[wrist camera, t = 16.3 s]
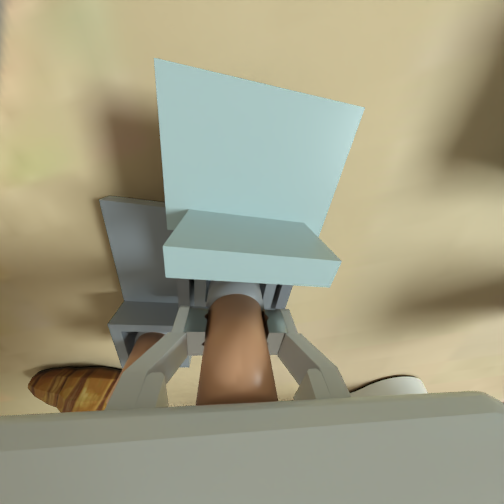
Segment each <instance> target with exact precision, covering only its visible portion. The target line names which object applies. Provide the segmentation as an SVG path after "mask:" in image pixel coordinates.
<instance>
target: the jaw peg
mask: <svg viewBox="0 0 504 504" xmlns="http://www.w3.org/2000/svg"><path fill="white" fill-rule="evenodd" d="M206 307H209V315H208V322H207V330H206V337H205V342H204V350H203V357H202V364H201V372H200V379H199V386H198V393H197V401H196V406H197V405H216V404H235V403H254V402H273V401H278V398H277V393H276V387H275V382H274V376H273V371H272V366H271V360H270V355H269V350H268V344H267V339H266V333H265V328H264V323H263V317H262V309H263V308H264V304H263V299H262V295H261V290H260V285H259V283H247V282H231V281H214V280H212V281H211V282H210V285H209V290H208V296H207V302H206Z"/></svg>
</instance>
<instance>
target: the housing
mask: <svg viewBox="0 0 504 504" xmlns="http://www.w3.org/2000/svg"><path fill="white" fill-rule="evenodd" d="M99 202H100V206H101V210H102V214H103V218H104V222H105V226H106V230H107V234H108V238H109V242H110V246H111V250H112V254H113V258H114V262H115V266H116V270H117V274H118V278H119V282H120V286H121V290H122V294H123V298H124V302H123V303H122V305H121V306H120V308H119V309H118V310H117V312H116V313H115V315H114V316H113V317H112V319H111V320H110V322H109V323H108V327H109V330H110V333H111V336H112V339H113V342H114V345H115V348H116V351H117V354H118V357H119V360H120V363H121V366H122V368H123V369H122V371H121V373H120V375H119V377H118V379H117V381H116V383H115V385H114V387H113V389H112V391H111V393H110V395H109V397H108V399H107V402H106V404H108V402H109V400H110V398H111V396H112V394H113V392H114V389H115V387H116V385H117V383H118V381H119V379H120V377H121V375H122V373H123V372H124V371H125V370H126V369H127V368H128V367H129V366H130V365H132V364H133V363H134V362H135V361H136V360H137V359H138V358H140V357H141V356H142V355H143V354H144V353H145V352H146V351H147V350H149V349H150V348H151V347H152V346H153V345H154V344H155V343H156V342H158V341H159V340H160V339H161V338H162V337H163V336H164V335H165V334H167V333H168V332H171V331H172V328H173V325H174V322H175V319H176V316H177V313H178V310H179V307H180V306H201V307H206V302H207V296H208V290H209V285H210V282H211V281H212V280H198V279H181V278H166V276H165V265H164V254H163V245H164V243H165V242H166V241H167V239H168V238H169V237H170V235H171V234H172V232H173V231H174V230H167V220H166V207H165V202H158V201H150V200H142V199H134V198H125V197H117V196H107V197H105V198H102V199H99ZM259 285H260V290H261V295H262V299H263V304H264V309H285V307H286V304H287V301H288V298H289V295H290V292H291V289H292V286H293V285H280V284H264V283H259ZM190 361H191V356H187V358H186V359H185V360H184V362H183V363H182V364H181V366H180V367H189V366H190Z"/></svg>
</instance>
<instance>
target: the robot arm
mask: <svg viewBox="0 0 504 504" xmlns="http://www.w3.org/2000/svg"><path fill="white" fill-rule="evenodd" d="M208 315H209V307H201V306H180V307H179V310H178V313H177V316H176V319H175V322H174V325H173V328H172V331H171V332H168V333H167V334H165V335H164V336H163V337H162V338H161V339H160V340H159V341H158V342H156V343H155V344H154V345H153V346H152V347H151V348H150V349H149V350H147V351H146V352H145V353H144V354H143V355H142V356H141V357H140V358H138V359H137V360H136V361H135V362H134V363H133V364H132V365H130V366H129V367H128V368H127V369H126V370H125V371H124V372H123V373H122V375H121V377H120V379H119V381H118V383H117V385H116V387H115V389H114V392H113V394H112V396H111V398H110V400H109V402H108V404H107V406H106V408H105V410H102V411H83V412H65V413H46V414H27V415H8V416H0V504H504V403H502V402H500V401H499V400H497V399H495V398H494V397H492V396H490V395H488V394H486V393H484V392H480V391H462V392H444V393H428V392H427V390H426V388H425V386H424V384H423V382H422V381H421V380H420V379H418V378H415V377H395V378H390V379H385V380H382V381H379V382H376V383H373V384H370V385H368V386H366V387H364V388H362V389H360V390H358V391H355V392H352V393H349V391H348V389H347V387H346V384H345V382H344V380H343V378H342V376H341V374H340V372H339V370H338V368H337V367H336V366H335V365H334V364H333V363H332V362H331V361H330V360H329V359H328V358H326V357H325V356H324V355H323V354H322V353H321V352H320V351H319V350H318V349H317V348H316V347H315V346H313V345H312V344H311V343H310V342H309V341H308V340H307V339H306V338H305V337H304V336H303V335H302V334H301V333H298V332H297V329H296V327H295V324H294V321H293V319H292V316H291V313H290V310H289V309H264V308H263V309H262V317H263V323H264V328H265V333H266V339H267V344H268V350H269V355H278V357H279V358H280V360H281V361H282V362H283V364H284V365H285V367H286V368H287V369H288V371H289V372H290V373H291V375H292V376H293V377H294V379H295V380H296V382H297V383H298V384H299V388H298V390H297V392H296V393H295V395H294V397H293V398H294V400H292V401H273V402H254V403H235V404H216V405H197V406H178V407H168V397H167V390H166V384H167V383H168V381H169V380H170V379H171V377H172V376H173V375H174V373H175V372H176V371H177V370H178V368H179V367H180V366H181V364H182V363H183V362H184V360H185V359H186V358H187V356H195V355H203V350H204V342H205V337H206V330H207V322H208Z"/></svg>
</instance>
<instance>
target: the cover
mask: <svg viewBox="0 0 504 504" xmlns="http://www.w3.org/2000/svg"><path fill="white" fill-rule="evenodd" d="M154 65H155V78H156V90H157V103H158V116H159V129H160V142H161V155H162V168H163V181H164V194H165V207H166V220H167V230H174V231H173V232H172V234H171V235H170V237H169V238H168V239H167V241H166V242H165V243H164V245H163V254H164V265H165V276H166V278H181V279H198V280H214V281H231V282H247V283H264V284H280V285H297V286H314V287H330V286H331V284H332V281H333V279H334V277H335V275H336V273H337V270H338V268H339V266H340V264H341V262H342V261H341V260H340V259H339V258H338V257H337V256H336V255H335V254H334V253H333V252H332V251H331V250H330V249H329V248H328V247H327V246H326V245H325V244H324V243H323V242H322V241H321V240H320V239H319V238H318V237H319V234H320V231H321V229H322V226H323V223H324V220H325V217H326V215H327V212H328V209H329V206H330V203H331V201H332V198H333V195H334V192H335V189H336V187H337V184H338V181H339V178H340V176H341V173H342V170H343V167H344V164H345V162H346V159H347V156H348V153H349V150H350V148H351V145H352V142H353V139H354V137H355V134H356V131H357V128H358V125H359V123H360V120H361V117H362V114H363V111H364V109H365V108H364V107H360V106H356V105H351V104H347V103H343V102H339V101H334V100H330V99H326V98H322V97H318V96H313V95H309V94H305V93H301V92H296V91H292V90H288V89H284V88H280V87H275V86H271V85H267V84H263V83H258V82H254V81H250V80H246V79H242V78H237V77H233V76H229V75H225V74H220V73H216V72H212V71H208V70H204V69H199V68H195V67H191V66H187V65H182V64H178V63H174V62H170V61H166V60H161V59H157V58H154Z"/></svg>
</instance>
